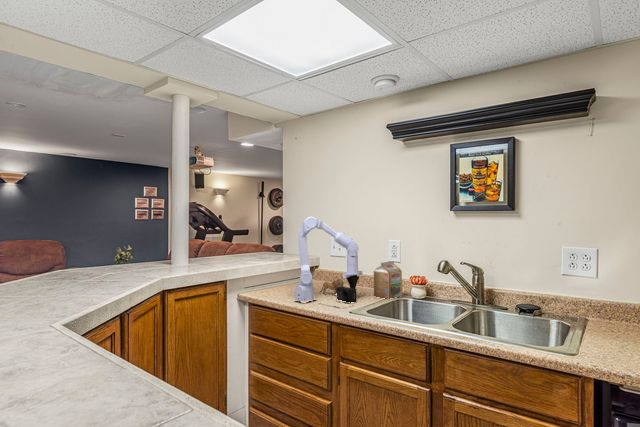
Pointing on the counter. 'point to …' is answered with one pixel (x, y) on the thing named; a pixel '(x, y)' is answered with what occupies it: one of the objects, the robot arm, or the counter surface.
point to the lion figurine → (333, 285)
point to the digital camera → (346, 294)
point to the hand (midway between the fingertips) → (352, 290)
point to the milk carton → (388, 280)
